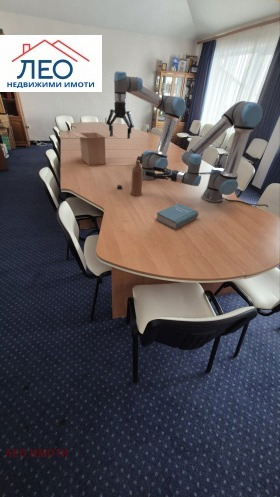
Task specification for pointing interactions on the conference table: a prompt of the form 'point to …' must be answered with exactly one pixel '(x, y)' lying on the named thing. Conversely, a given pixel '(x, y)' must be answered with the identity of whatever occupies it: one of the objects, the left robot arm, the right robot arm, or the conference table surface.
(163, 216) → the book
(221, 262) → the conference table surface
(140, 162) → the laser sight
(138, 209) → the conference table surface
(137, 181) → the bottle
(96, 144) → the box
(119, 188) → the cap
